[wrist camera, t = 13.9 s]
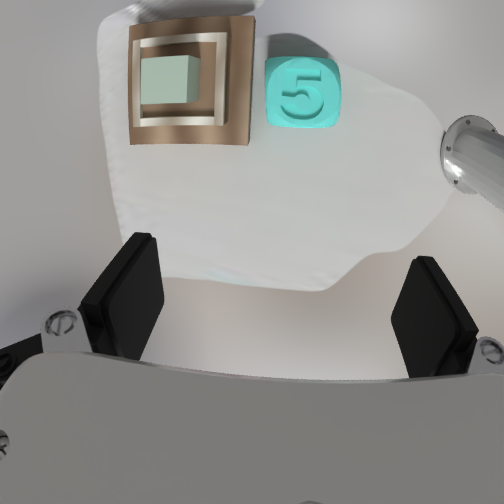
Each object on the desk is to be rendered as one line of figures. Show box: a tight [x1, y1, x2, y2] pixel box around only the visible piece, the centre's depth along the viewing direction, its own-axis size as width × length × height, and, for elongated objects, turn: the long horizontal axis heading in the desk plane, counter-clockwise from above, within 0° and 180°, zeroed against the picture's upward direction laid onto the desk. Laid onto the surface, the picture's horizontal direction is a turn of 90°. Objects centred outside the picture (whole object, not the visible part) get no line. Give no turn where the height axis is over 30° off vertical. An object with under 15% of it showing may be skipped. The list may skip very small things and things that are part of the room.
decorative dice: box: [265, 56, 341, 128], centre depth 32 cm, size 8×8×8 cm
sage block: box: [141, 55, 201, 104], centre depth 28 cm, size 5×5×5 cm
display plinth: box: [128, 16, 256, 146], centre depth 32 cm, size 16×17×7 cm
